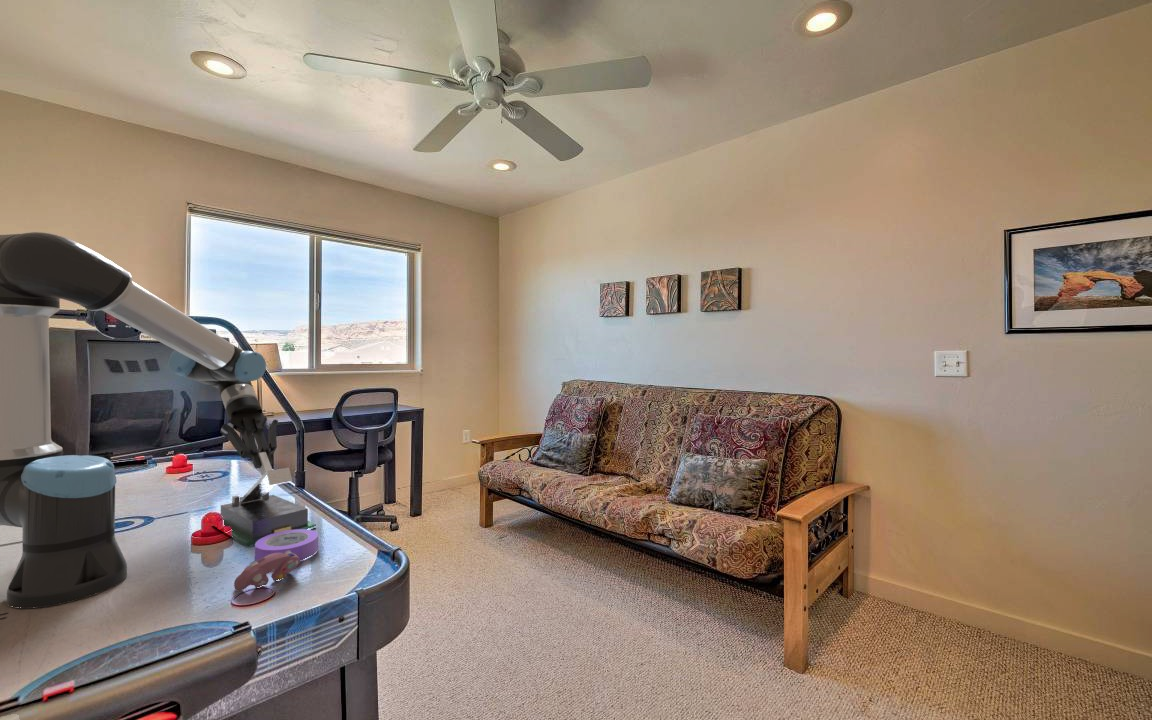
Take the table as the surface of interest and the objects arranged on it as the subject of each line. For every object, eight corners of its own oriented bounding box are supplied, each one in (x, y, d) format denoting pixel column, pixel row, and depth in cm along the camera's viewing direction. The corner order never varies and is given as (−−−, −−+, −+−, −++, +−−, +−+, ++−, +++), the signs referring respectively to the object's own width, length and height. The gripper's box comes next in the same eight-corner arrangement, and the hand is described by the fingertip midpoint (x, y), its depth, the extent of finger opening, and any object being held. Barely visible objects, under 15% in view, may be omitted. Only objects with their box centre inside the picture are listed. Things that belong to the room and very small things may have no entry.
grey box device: (212, 525, 121) (212, 498, 121) (277, 511, 133) (277, 485, 133) (246, 546, 108) (247, 515, 108) (315, 528, 120) (316, 500, 120)
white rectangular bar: (242, 514, 123) (238, 498, 124) (263, 509, 127) (259, 494, 128) (270, 484, 113) (266, 468, 114) (292, 480, 117) (288, 464, 118)
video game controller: (241, 604, 86) (250, 573, 84) (229, 587, 88) (238, 556, 86) (297, 582, 94) (306, 554, 93) (285, 567, 97) (294, 539, 95)
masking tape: (313, 563, 100) (313, 545, 100) (247, 571, 96) (247, 552, 96) (321, 543, 111) (322, 526, 111) (262, 549, 107) (263, 532, 107)
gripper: (216, 396, 122) (242, 472, 112) (273, 393, 133) (301, 462, 123) (209, 416, 125) (233, 491, 115) (265, 411, 136) (291, 480, 126)
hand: (268, 476), depth 119 cm, fingers closed
